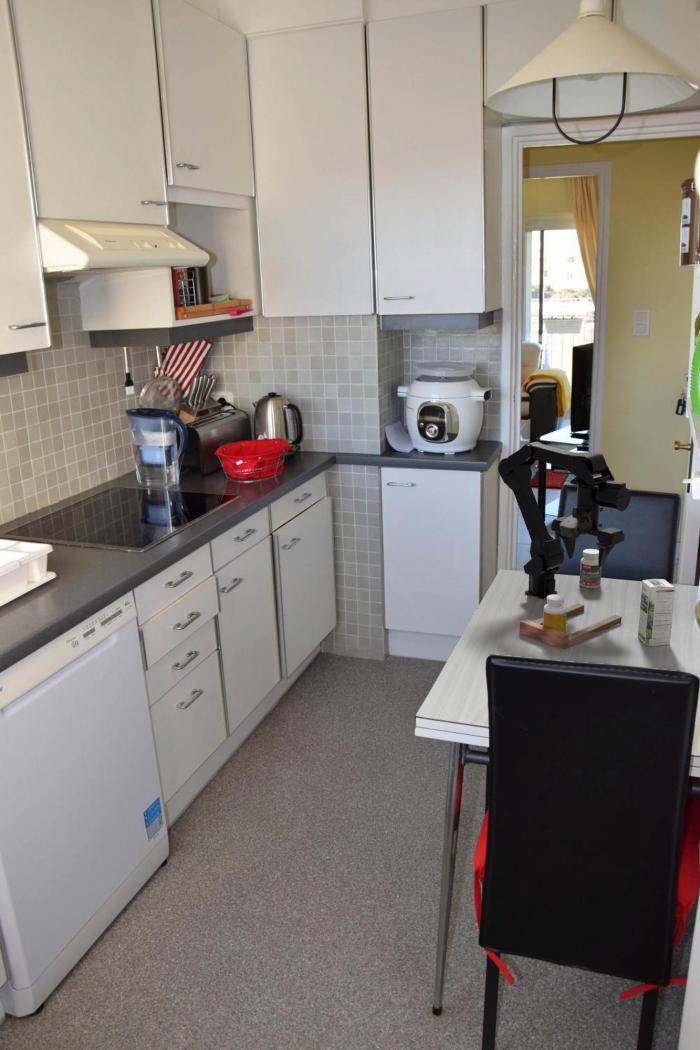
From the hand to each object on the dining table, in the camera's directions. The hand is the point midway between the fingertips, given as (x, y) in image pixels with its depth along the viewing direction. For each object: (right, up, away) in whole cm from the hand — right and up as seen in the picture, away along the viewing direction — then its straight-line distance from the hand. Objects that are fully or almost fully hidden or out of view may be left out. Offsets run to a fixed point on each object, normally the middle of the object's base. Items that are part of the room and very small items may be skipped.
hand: (585, 562), depth 216 cm
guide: (-5, -15, -8) cm, 18 cm away
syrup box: (+11, -18, -18) cm, 28 cm away
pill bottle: (+7, -7, +20) cm, 22 cm away
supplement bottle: (-11, -17, -13) cm, 24 cm away
